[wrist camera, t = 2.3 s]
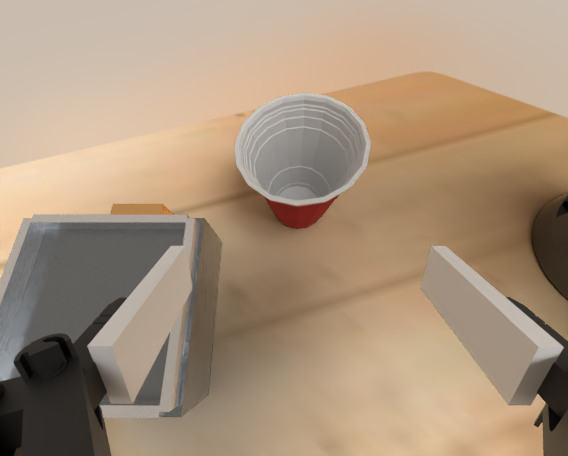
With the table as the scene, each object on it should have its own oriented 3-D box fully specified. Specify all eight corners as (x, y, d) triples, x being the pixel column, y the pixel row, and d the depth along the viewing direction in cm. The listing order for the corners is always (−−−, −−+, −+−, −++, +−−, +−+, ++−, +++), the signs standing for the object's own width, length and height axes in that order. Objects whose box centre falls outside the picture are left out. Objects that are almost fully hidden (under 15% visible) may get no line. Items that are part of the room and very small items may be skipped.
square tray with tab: (223, 222, 31) (202, 186, 23) (208, 394, 25) (172, 423, 17) (96, 222, 31) (32, 186, 24) (49, 393, 25) (-59, 422, 17)
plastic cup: (256, 165, 34) (241, 85, 23) (341, 170, 34) (368, 91, 23) (245, 246, 30) (221, 197, 19) (341, 253, 30) (374, 207, 19)
